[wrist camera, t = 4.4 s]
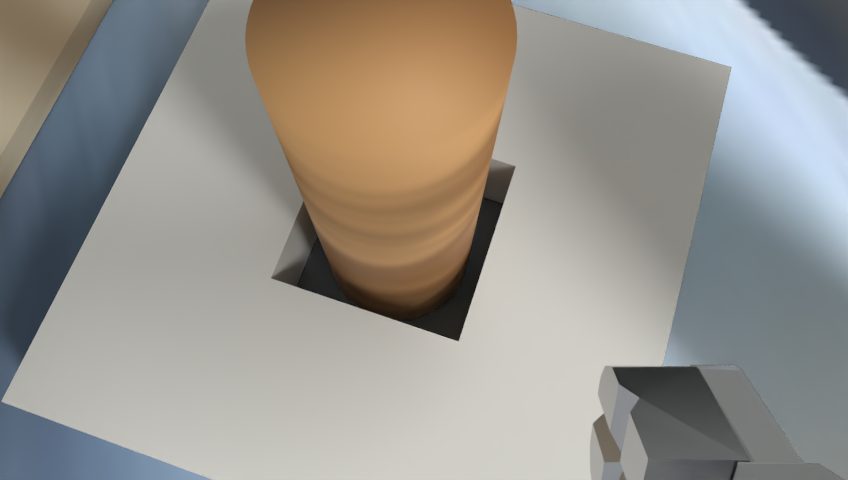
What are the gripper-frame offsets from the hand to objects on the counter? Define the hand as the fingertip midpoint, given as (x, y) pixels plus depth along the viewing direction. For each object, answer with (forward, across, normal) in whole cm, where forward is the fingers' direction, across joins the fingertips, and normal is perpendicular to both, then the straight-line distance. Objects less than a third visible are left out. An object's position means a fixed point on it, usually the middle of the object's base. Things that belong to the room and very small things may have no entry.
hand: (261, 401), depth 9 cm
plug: (+14, -1, +5) cm, 15 cm away
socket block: (+14, -1, +5) cm, 14 cm away
